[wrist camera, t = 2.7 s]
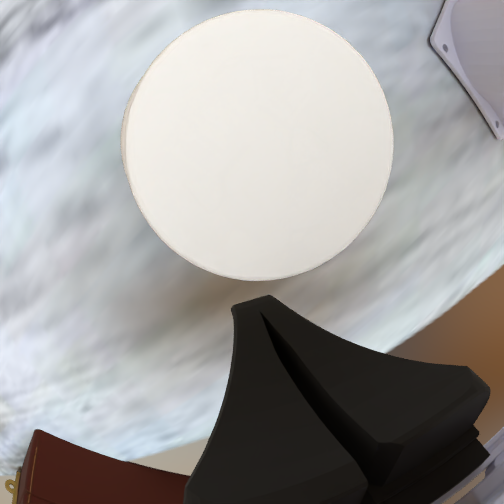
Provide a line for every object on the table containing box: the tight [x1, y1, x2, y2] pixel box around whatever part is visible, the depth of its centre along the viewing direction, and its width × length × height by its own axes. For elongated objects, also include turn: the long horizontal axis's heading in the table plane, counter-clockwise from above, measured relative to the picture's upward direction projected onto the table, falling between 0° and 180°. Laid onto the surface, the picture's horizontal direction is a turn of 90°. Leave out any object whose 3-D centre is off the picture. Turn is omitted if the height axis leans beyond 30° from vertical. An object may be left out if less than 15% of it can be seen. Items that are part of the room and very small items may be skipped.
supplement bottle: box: [121, 9, 394, 281], centre depth 8 cm, size 5×5×8 cm
